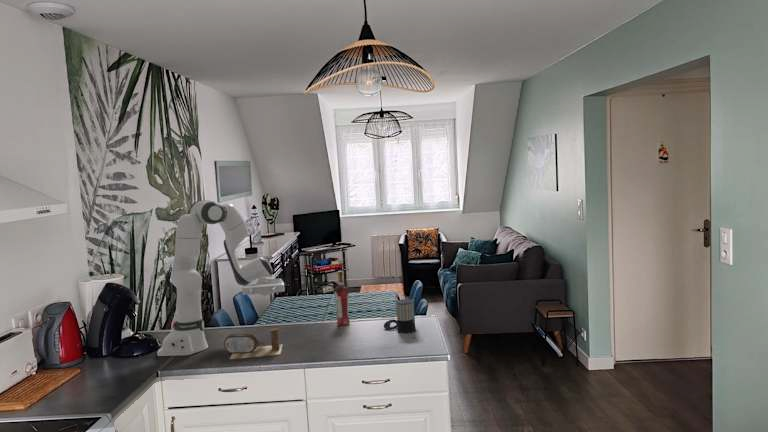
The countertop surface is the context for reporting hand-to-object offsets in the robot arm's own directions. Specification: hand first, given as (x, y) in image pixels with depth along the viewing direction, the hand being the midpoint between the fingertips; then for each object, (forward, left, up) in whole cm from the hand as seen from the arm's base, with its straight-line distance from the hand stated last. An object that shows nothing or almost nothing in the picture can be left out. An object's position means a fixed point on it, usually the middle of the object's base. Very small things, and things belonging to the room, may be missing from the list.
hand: (262, 291), depth 271 cm
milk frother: (+65, +3, -25) cm, 69 cm away
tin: (-10, -12, -25) cm, 29 cm away
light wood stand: (-3, -12, -25) cm, 28 cm away
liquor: (+38, +22, -25) cm, 50 cm away
